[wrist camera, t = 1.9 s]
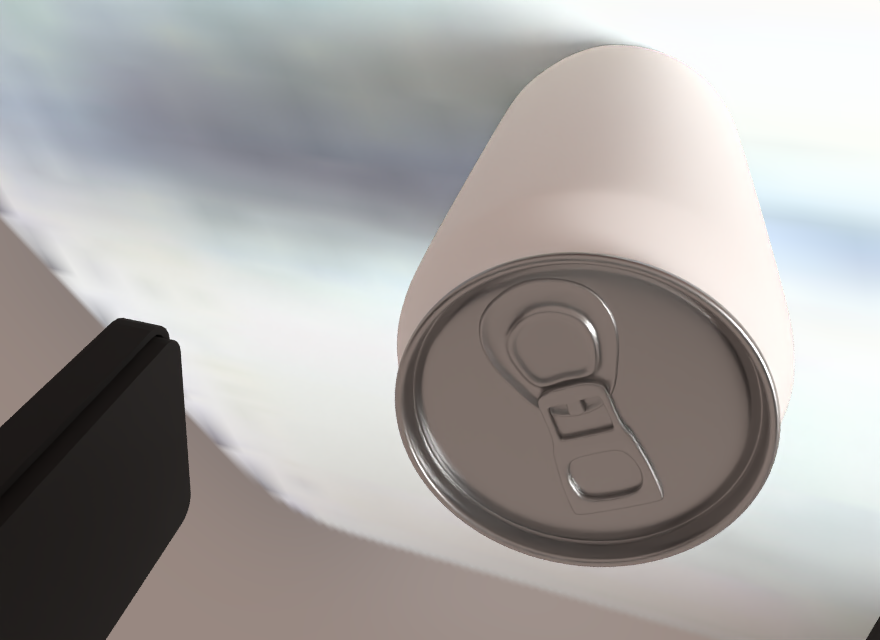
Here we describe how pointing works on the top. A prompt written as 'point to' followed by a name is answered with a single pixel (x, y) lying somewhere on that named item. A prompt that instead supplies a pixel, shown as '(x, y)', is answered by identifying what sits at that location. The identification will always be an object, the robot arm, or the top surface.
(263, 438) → the top surface
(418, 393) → the can
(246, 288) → the top surface
